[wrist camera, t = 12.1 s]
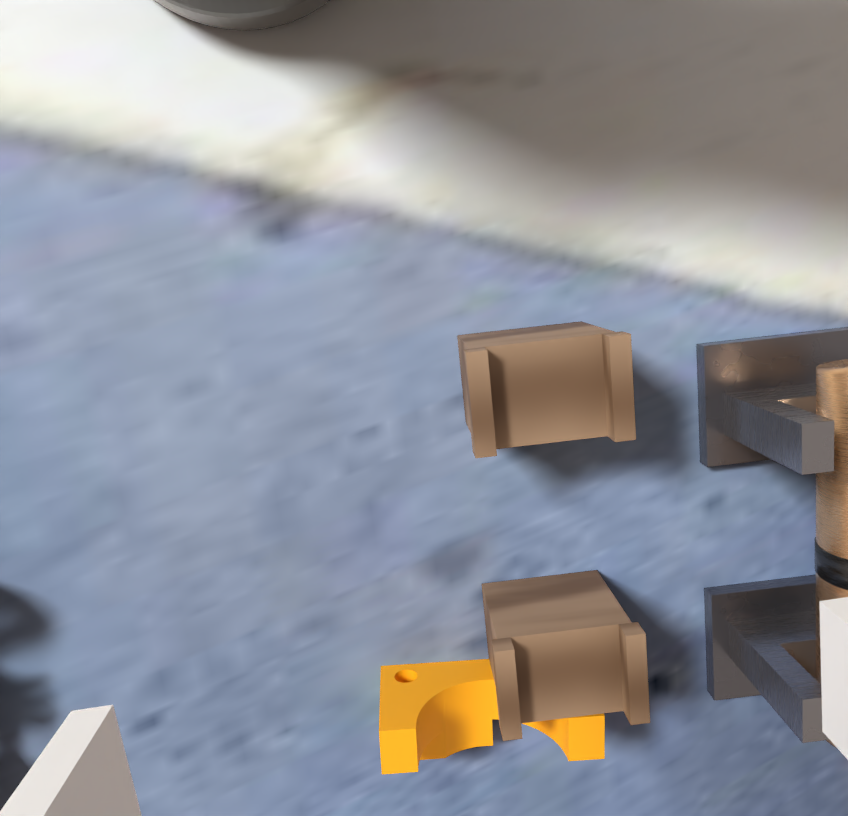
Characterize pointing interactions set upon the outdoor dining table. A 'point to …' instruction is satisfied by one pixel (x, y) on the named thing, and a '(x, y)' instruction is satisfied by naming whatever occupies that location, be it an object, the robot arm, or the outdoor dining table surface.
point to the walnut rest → (566, 593)
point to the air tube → (832, 495)
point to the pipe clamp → (459, 715)
